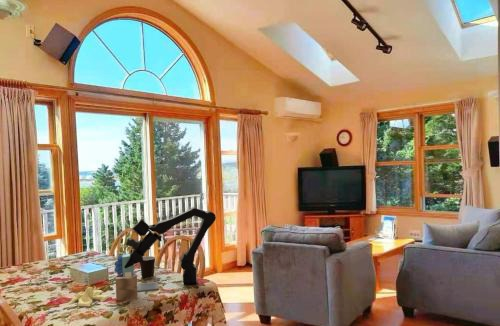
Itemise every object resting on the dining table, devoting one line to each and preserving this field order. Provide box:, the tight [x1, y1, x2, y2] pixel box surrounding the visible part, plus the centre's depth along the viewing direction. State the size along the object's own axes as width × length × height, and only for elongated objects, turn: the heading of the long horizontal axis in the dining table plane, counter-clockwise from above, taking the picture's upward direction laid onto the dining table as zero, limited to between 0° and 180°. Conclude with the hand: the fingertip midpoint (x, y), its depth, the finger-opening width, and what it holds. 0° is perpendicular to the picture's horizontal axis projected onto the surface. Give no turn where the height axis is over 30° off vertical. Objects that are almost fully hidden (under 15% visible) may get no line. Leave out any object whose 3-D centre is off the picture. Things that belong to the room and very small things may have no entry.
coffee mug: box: [139, 255, 156, 279], centre depth 217 cm, size 12×9×10 cm
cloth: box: [66, 286, 111, 307], centre depth 182 cm, size 22×19×6 cm
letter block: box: [122, 253, 135, 277], centre depth 194 cm, size 5×5×12 cm
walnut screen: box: [115, 275, 138, 302], centre depth 181 cm, size 9×2×10 cm, turn 95°
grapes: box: [113, 252, 127, 276], centre depth 222 cm, size 12×7×12 cm, turn 149°
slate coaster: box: [137, 282, 159, 293], centre depth 196 cm, size 10×10×1 cm
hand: (125, 266), depth 194 cm, fingers closed on letter block, 5 cm apart
